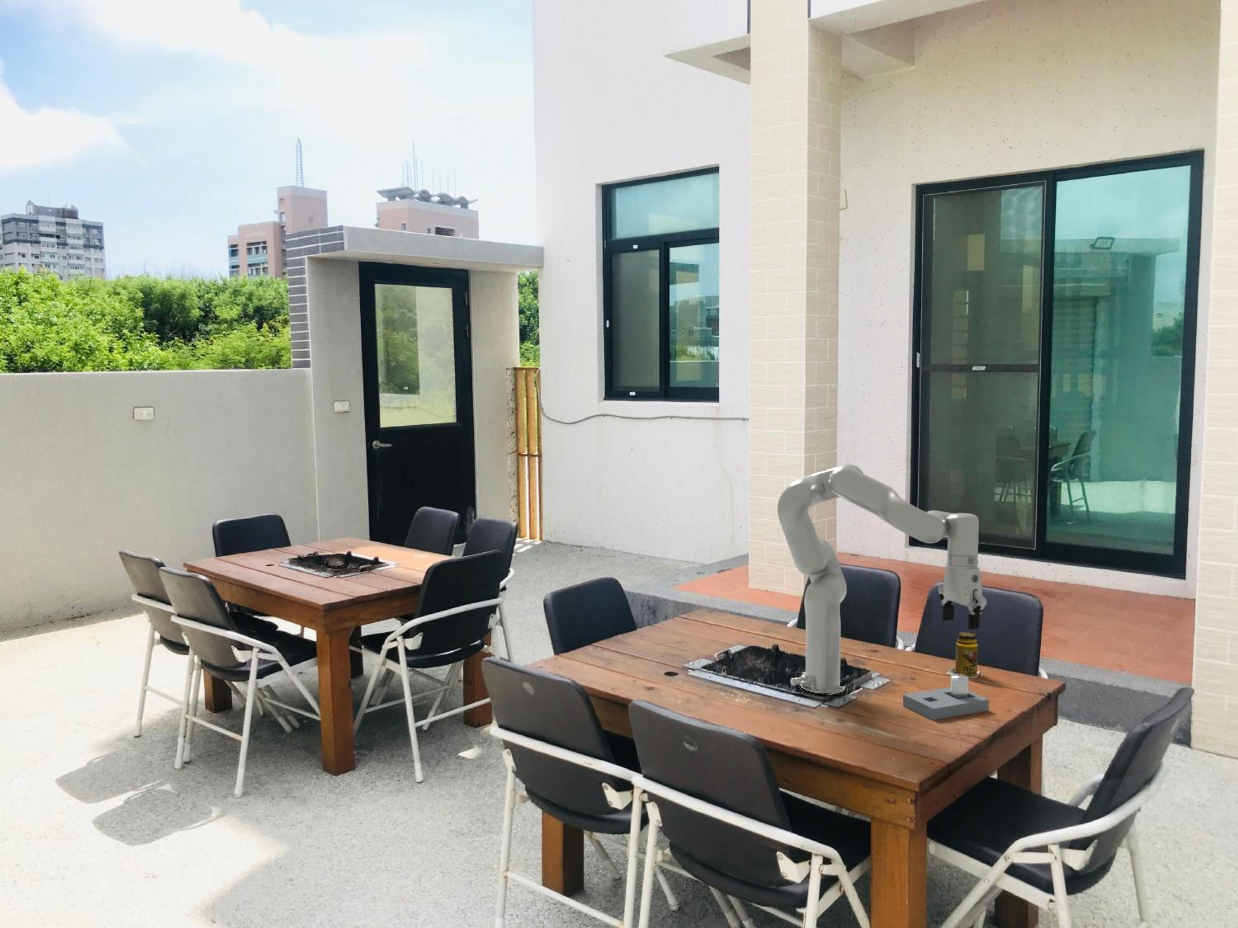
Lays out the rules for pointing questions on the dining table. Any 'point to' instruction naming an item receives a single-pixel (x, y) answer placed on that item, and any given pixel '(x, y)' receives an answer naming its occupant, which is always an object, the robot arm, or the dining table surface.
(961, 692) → the cylinder
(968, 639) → the condiment
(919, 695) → the grey hole board
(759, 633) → the dining table surface
